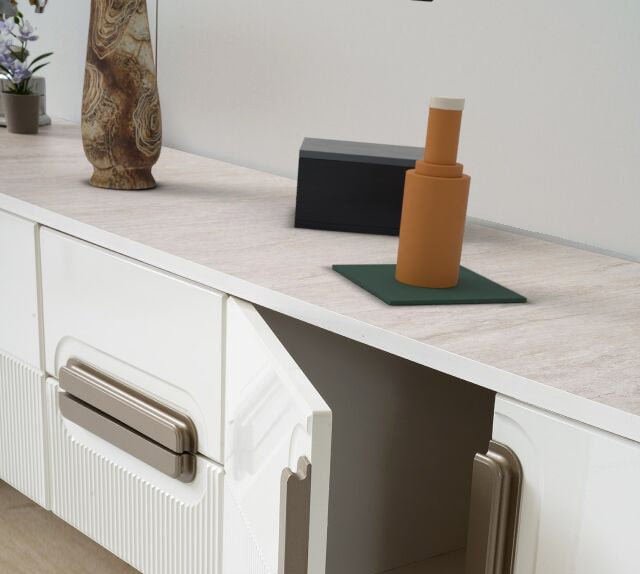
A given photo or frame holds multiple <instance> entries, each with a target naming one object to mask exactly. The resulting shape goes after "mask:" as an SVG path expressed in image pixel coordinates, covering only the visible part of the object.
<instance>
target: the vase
mask: <svg viewBox="0 0 640 574" xmlns="http://www.w3.org/2000/svg"><path fill="white" fill-rule="evenodd" d="M89 7H90V8H89V9H90V10H89V19H88V20H89V22H88V32H87V43H86V52H85V54H86V55H85V63H84V64H85V65H84V74H83V86H82V95H81V97H82V98H81V108H80V109H81V112H80V113H81V116H80V120H81V121H80V130H81V132H80V133H81V141H82V142H81V143H82V149H83V151H84V155H85V158H86V159H87V161H88V162H89V163H90V164H91V165H92V167H93V171H92V175H91V177H90V179H89V181H88V183H89V185H91V186H93V187H96V188H105V189H113V190H114V189H116V190H143V189H152V188H155V187H156V186H157V185H158V183H157V181H156V179H155V177H154V175H153V173H152V171H153V170H152V169H153V166H154V165H156V164H157V162H158V160H159V158H160V157H161V153H162V146H163V145H162V144H163V122H162V120H163V119H162V108H161V101H160V94H159V93H160V92H159V86H158V81H157V73H156V66H155V59H154V51H153V46H152V45H153V44H152V39H151V30H150V23H149V14H148V5H147V0H90V5H89Z"/></svg>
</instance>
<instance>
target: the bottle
mask: <svg viewBox="0 0 640 574" xmlns="http://www.w3.org/2000/svg"><path fill="white" fill-rule="evenodd" d="M465 103H466V98H465V97H462V96H457V95H447V94H430V95H429V97H428V116H427V125H426V126H427V127H426V135H425V144H424V145H425V146H424V148H425V153H424V159H421V160H417V161H416V165H415V169H410V170H407V171H406V178H405V187H404V197H403V207H402V216H401V226H400V236H398V247H397V257H396V264H397V265H396V274H395V278H396V280H398V281H399V282H402V283H405V284H408V285H412V286H418V287H425V288H449V287H454V286H456V285H457V284H458V276H459V268H460V265H461V261H462V260H461V259H462V251H463V243H464V237H465V228H466V220H467V213H468V204H469V197H470V188H471V181H472V177H471V176H470V175H468V174H466V173H464V164H463V163H461V162H457V159H458V152H459V143H460V137H461V136H460V134H461V128H462V127H461V126H462V118H463V111H464V110H465Z"/></svg>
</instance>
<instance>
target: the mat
mask: <svg viewBox="0 0 640 574" xmlns="http://www.w3.org/2000/svg"><path fill="white" fill-rule="evenodd" d="M396 265H397V263H370V264H369V263H367V264H366V263H365V264H364V263H362V264H360V263H359V264H358V263H357V264H355V263H353V264H346V263H345V264H331V269H332V270H334V271H336V273H338V274H340V275H342V276H343V277H344V278H347V280H349V281H351V282H352V283H354V284H355V285H357V286H359V287H361V288H362V289H364V290H365V291H366V292H368V293H370V294H372V295H373V296H375V297H376V298H377V299H380V300H381V301H382V302H384V303H386V304H387V305H389V306H411V305H413V306H415V305H417V306H418V305H453V304H455V305H457V304H461V305H462V304H497V303H499V304H500V303H501V304H503V303H505V304H506V303H527V302H528V301H527V300H528V297H526V296H524V295H522V294H520V293H517V292H516V291H514V290H512V289H510V288H508V287H506V286H503V285H501V284H500V283H498V282H496V281H493V280H491V279H489V278H488V277H486V276H483V275H481V274H479V273H478V272H475V271H474V270H471V269H470V268H467V267H465V266H464V265H461V264H460V268H459V276H458V284H457V285H456V286H454V287H449V288H425V287H418V286H412V285H408V284H405V283H402V282H399V281H398V280H396V278H395V274H396Z"/></svg>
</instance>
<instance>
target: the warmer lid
mask: <svg viewBox="0 0 640 574" xmlns="http://www.w3.org/2000/svg"><path fill="white" fill-rule="evenodd" d="M424 153H425V147H422V146H410V145H401V144H400V145H399V144H387V143H376V142H364V141H352V140H341V139H331V138H330V139H328V138H320V137H319V138H317V137H306V136H305V137H304V138H303V141H302V143H301V145H300V148H299V150H298V158H299V157H302V158H313V159H325V160H336V161H348V162H360V163H371V164H383V165H394V166H406V167H415V165H416V161H417V160H421V159H424Z"/></svg>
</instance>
